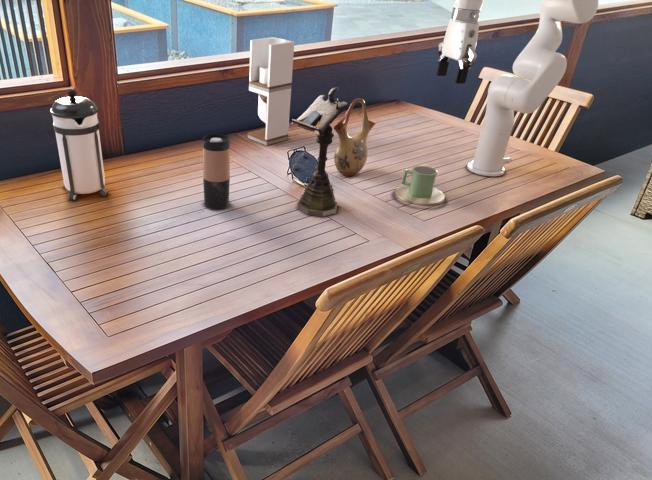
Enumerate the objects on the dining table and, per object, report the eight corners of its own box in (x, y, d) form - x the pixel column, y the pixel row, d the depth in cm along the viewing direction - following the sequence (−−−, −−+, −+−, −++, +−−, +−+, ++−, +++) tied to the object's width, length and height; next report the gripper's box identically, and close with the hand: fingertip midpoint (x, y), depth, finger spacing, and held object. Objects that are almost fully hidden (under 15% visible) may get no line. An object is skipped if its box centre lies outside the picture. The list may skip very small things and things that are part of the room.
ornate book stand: (305, 225, 159) (317, 97, 139) (277, 208, 168) (284, 85, 148) (348, 212, 167) (365, 89, 147) (320, 196, 176) (332, 78, 156)
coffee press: (123, 186, 177) (112, 86, 160) (90, 205, 165) (75, 99, 148) (78, 176, 182) (63, 78, 166) (43, 193, 170) (23, 90, 154)
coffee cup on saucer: (451, 194, 179) (457, 169, 174) (434, 210, 168) (440, 183, 164) (406, 182, 186) (411, 157, 181) (387, 196, 175) (392, 171, 171)
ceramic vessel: (337, 182, 186) (347, 104, 172) (321, 173, 192) (329, 97, 178) (375, 174, 193) (388, 99, 179) (358, 165, 199) (369, 92, 185)
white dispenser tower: (268, 132, 226) (273, 37, 207) (287, 139, 220) (294, 41, 200) (247, 137, 220) (250, 39, 200) (266, 145, 213) (271, 44, 194)
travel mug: (233, 201, 170) (234, 136, 159) (223, 211, 164) (224, 144, 153) (209, 197, 172) (208, 132, 161) (199, 207, 166) (197, 140, 155)
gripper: (495, 20, 154) (478, 86, 164) (458, 11, 168) (444, 72, 177) (472, 20, 152) (456, 86, 161) (436, 11, 166) (423, 73, 175)
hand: (450, 79), depth 169 cm, fingers open, 9 cm apart
